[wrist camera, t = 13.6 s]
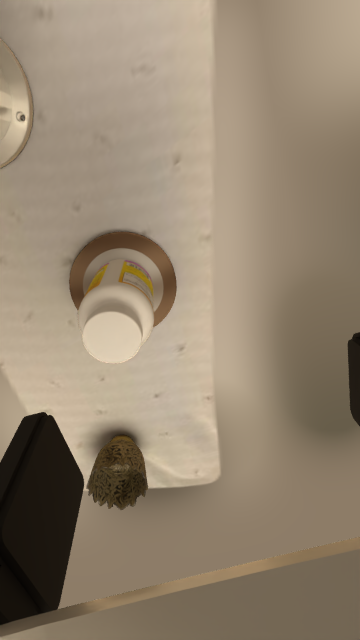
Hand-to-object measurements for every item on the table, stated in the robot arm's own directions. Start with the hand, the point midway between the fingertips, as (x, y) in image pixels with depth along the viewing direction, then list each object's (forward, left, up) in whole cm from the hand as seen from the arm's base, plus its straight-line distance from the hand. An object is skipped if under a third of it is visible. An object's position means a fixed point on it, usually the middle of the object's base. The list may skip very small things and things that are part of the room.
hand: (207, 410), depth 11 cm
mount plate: (+4, -6, -30) cm, 31 cm away
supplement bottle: (+4, -6, -29) cm, 30 cm away
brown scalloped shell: (+27, -13, -31) cm, 43 cm away
